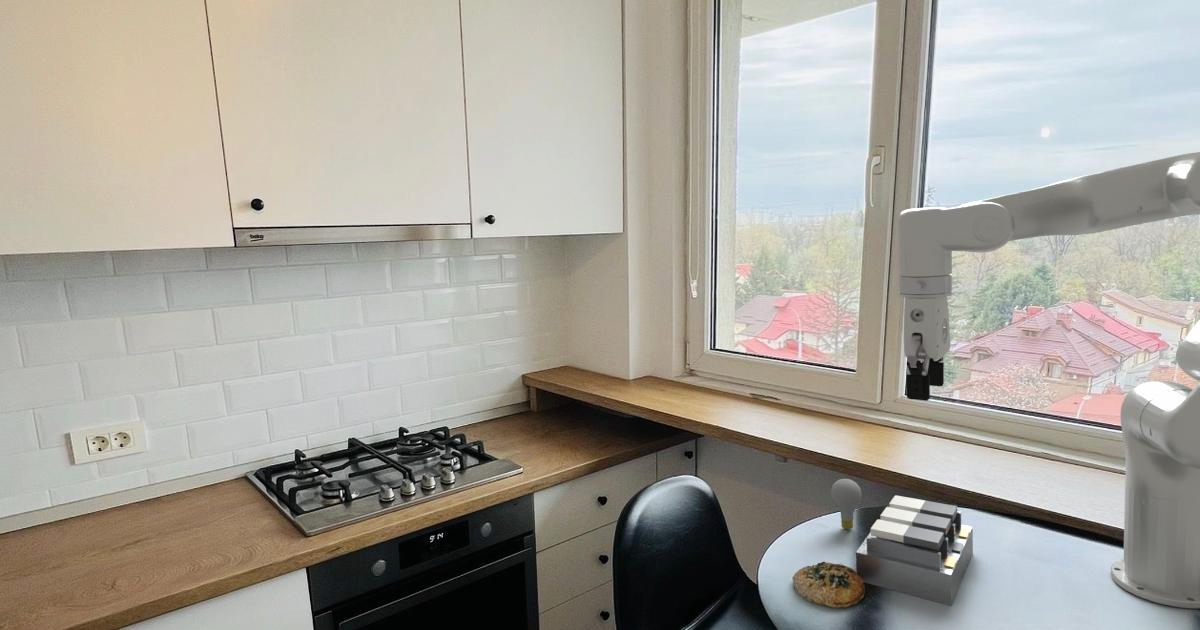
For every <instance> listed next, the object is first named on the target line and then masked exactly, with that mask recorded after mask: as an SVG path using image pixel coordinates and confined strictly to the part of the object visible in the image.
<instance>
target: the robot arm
mask: <svg viewBox="0 0 1200 630" xmlns="http://www.w3.org/2000/svg"><path fill="white" fill-rule="evenodd" d="M1193 215H1194V216H1195V215H1197V216H1198V215H1200V151H1197V152H1196V151H1195V152H1191V153H1185V154H1179V155H1174V156H1169V157H1165V158H1160V159H1156V160H1155V159H1154V160H1151V161H1147V162H1142V163H1138V164H1137V163H1136V164H1134V165H1128V166H1124V167H1119V168H1114V169H1110V170H1105V171H1101V172H1096V173H1092V174H1086V175H1082V176H1077V177H1074V178H1069V179H1066V180H1062V181H1058V182H1055V183H1051V184H1049V185H1045V186H1041V187H1036V188H1033V189H1029V190H1023V191H1018V192H1015V193H1010V194H1009V193H1008V194H1005V195H1000V196H995V197H991V198H987V199H981V200H976V201H972V202H967V203H965V204H961V205H959V206H956V207H950V208H949V207H948V208H946V207H942V206H935V207H931V206H930V207H918V208H908V209H905V210H902V211H901V212H900V214H899V215H898V219H897V244H898V245H897V246H898V247H897V248H898V297H901V298H904V309H903V311H904V312H903V351H904V356H905V358H906V359H907V362H906V369H905V370H906V398H907V399H908V400H917V401H926V402H928V401H929V400H930V398H931V395H930V394H931V389H930V387H931V386H933V387H943V386H944V384H945V381H944V377H945V376H944V375H945V373H944V371H945V370H944V369H945V368H944V367H945V366H944V365H945V364H944V356H946V355H947V354H948V353H949V352H950V350H951V333H950V331H951V330H950V312H949V302H948V297H951V296H952V295H953V292H952V291H953V287H952V286H953V284H952V283H953V281H952V280H953V278H952V277H953V274H952V273H953V252H968V253H990V252H994V251H996V250H999V249H1001V248H1003V246H1005V245H1006V244H1008V243H1009V242H1011V241H1012V242H1013V241H1018V240H1024V239H1032V238H1039V237H1049V236H1079V235H1080V236H1082V235H1090V234H1096V233H1097V234H1098V233H1102V232H1107V231H1112V230H1117V229H1122V228H1126V227H1127V228H1128V227H1132V226H1137V225H1144V224H1148V223H1152V222H1153V223H1154V222H1159V221H1165V220H1168V219H1169V220H1170V219H1174V218H1175V219H1176V218H1179V217H1185V216H1193ZM1175 353H1176V355H1175V357H1176V363H1177V364H1178V367H1179V368H1180V369H1181V370H1182V371H1183V372H1184V373H1185V374H1186V375H1187V376H1189V377H1190V378H1192V379H1194V380H1195V381H1198V382H1197V384H1196V385H1195V386H1194V387H1193V388H1192V387H1189V386H1186V385H1184V384H1180V383H1178V382H1174V381H1169V380H1151V381H1146V382H1143V383H1140V384H1139V385H1136V386H1135V387H1133V388H1132V389H1131V390H1130V391H1128V393H1127V394H1126V395H1125V397H1124V399H1123V401H1122V403H1121V407H1120V425H1121V426H1120V427H1121V431H1122V432H1121V433H1122V440H1123V445H1124V455H1125V456H1124V457H1125V458H1124V459H1125V480H1124V481H1125V482H1124V516H1123V517H1124V518H1123V520H1124V521H1123V524H1124V525H1123V526H1124V528H1123V559H1119V560H1117V561H1115V562H1114V563H1112V565H1111V566H1110V576H1111V578H1112V580H1113V581H1114V582H1115V583H1116V584H1117V585H1118V586H1119V587H1121V588H1122V589H1123V590H1125V591H1126V592H1128V593H1129V594H1133V595H1134V596H1137V597H1139V598H1140V599H1144V600H1147V601H1149V602H1153V603H1157V604H1161V605H1165V606H1168V607H1169V606H1170V607H1174V608H1183V609H1200V319H1199V320H1198V321H1197V323H1196V324H1195V325H1194V326H1193V327H1192V328H1191V329H1190V331H1189V332H1187V334H1186V335H1185V337H1184V338H1183V339H1182V340H1181V342H1180V343H1179V345H1178V347H1177V350H1176V352H1175Z"/></svg>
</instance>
